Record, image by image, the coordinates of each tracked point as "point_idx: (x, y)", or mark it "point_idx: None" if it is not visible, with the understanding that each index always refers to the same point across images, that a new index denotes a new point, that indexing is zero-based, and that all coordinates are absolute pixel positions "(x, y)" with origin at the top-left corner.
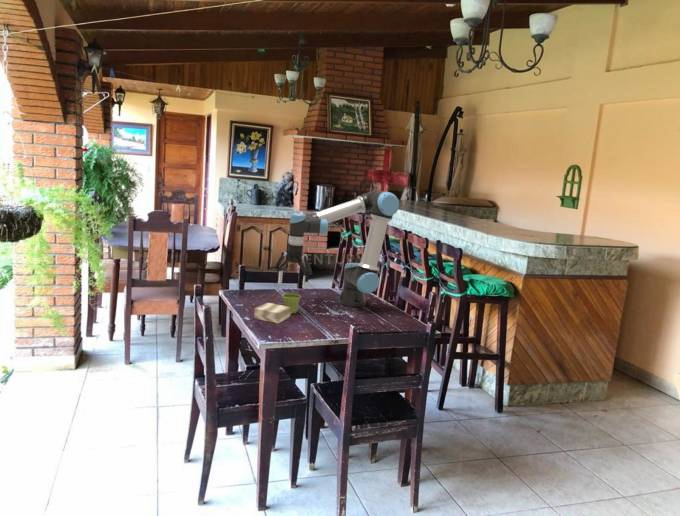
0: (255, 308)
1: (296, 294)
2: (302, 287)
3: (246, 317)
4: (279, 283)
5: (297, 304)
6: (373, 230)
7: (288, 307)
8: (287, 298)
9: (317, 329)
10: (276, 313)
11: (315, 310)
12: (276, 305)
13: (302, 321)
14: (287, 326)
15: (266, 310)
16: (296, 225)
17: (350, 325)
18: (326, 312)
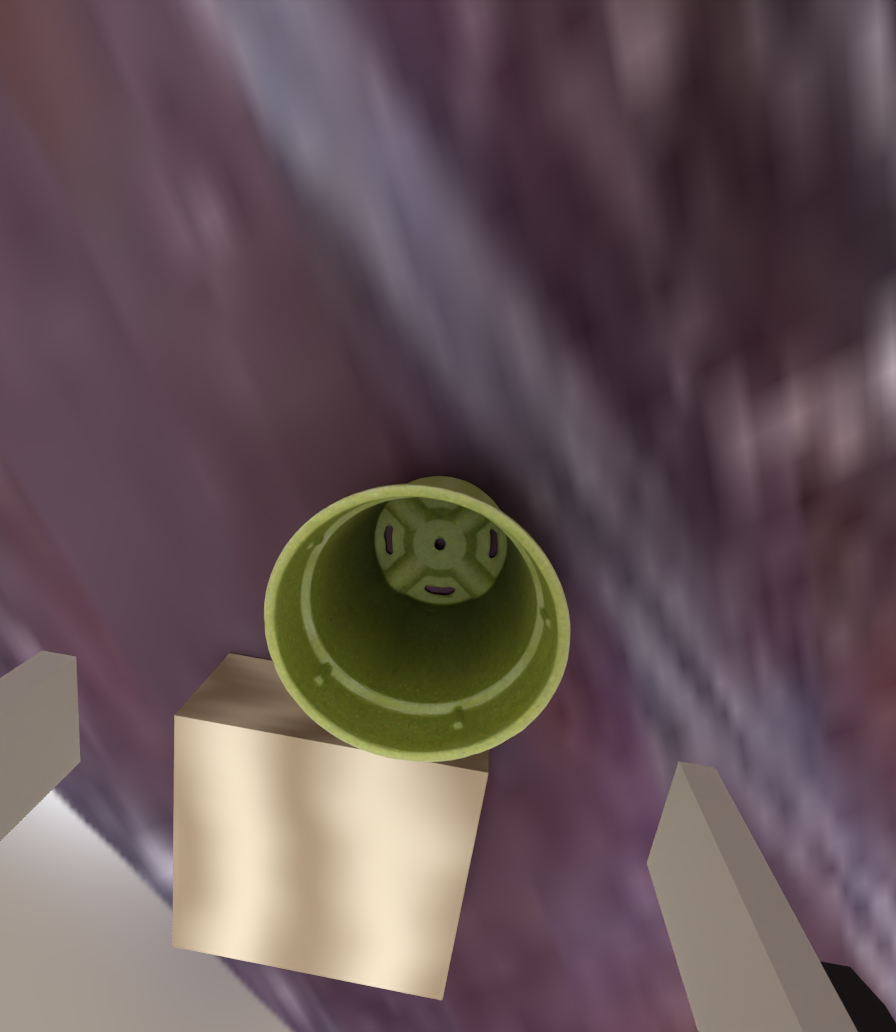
0: (181, 945)
1: (452, 501)
2: (654, 879)
3: (158, 854)
4: (75, 765)
5: (524, 607)
6: None
7: (465, 794)
8: (395, 750)
9: (819, 922)
10: (419, 989)
11: (712, 317)
12: (313, 777)
13: (642, 777)
14: (547, 935)
15: (300, 963)
16: None
17: None
18: (876, 334)
